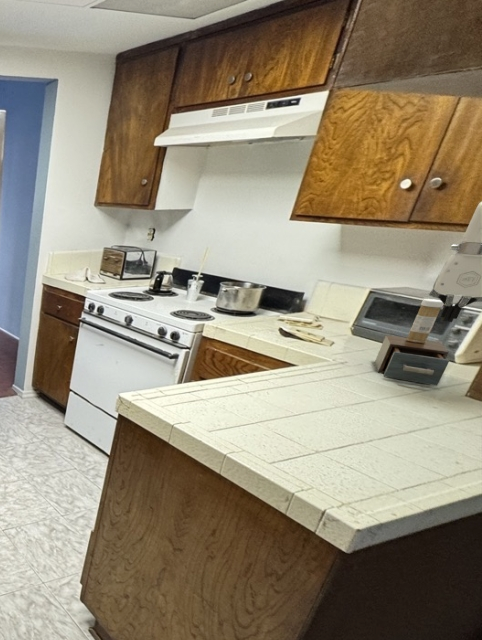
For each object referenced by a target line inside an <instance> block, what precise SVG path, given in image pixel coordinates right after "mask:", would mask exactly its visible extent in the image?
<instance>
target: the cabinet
mask: <svg viewBox="0 0 482 640" xmlns="http://www.w3.org/2000/svg"><path fill="white" fill-rule="evenodd" d="M406 339H407V337H403V336H398V335H397V336H395V335H389V334H386V335H385V337H384V339H383V342H382V344H381V346H380V349H379V351H378V352H377V355H376V358H375V359H374V364H375V367H376V370H377V372H378V373H380V374H385V368H384V366H385V363H386V361H387V359H388V357H389V354H390V352H391V350H392V347H399V348H406V349H413V350H420V351H427V352H434V353H440V354H441V356H442V357H443V358H444V359H447V357H448V354H449V351H448V349H447V348H446V347H445V346H444V345H443V343H442V342H441V341H434V340H428V339H427V340H426V343H414V342H410V341H407V340H406Z"/></svg>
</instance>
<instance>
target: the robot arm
mask: <svg viewBox="0 0 482 640" xmlns="http://www.w3.org/2000/svg"><path fill="white" fill-rule="evenodd" d="M465 230H466V231H465V232H464V234H463V236H462V239H461V241H459V243H456V244H451V245H450V247H449V250H450V251H454V252H455V254H451V255H450V256H449V258H448V259H446V261H445V263H444V265H443V267H441V270H440V271H439V274H438V275H437V277H436V279H435V281H434V283H433V286H432V288H431V290H430V291H429V292H428V296H429V297H432V298H434V299H437V300H441V301H442V302H443V303H444V304H443V306H442V308H441V310H440V311H441V312H440V314H439V318H440V320H441V321H442V322H448V323H452V322H453V321H454V320H457V319H458V317H459V315H460V313H461V311H462V309H463V308H464V307H466V306H468V305H470V304H473V303H482V200H481V201H480V202H478V205H477V206H476V208H475V210H474V213H473V215H472V217H471V219H470V221H469V224H468V226H467V228H466V229H465ZM455 296H461V297H460V298H459V299H458V301H457V302H456V303H454V304H453V302H454V298H455Z"/></svg>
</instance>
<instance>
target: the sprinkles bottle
mask: <svg viewBox="0 0 482 640" xmlns="http://www.w3.org/2000/svg"><path fill="white" fill-rule="evenodd" d="M443 307H444V303H443V302H442V301H441V300H440V299H436V298H434V299H433V298H424V299H423V300H422V301H421V303H420V308H419V310H418V312H417V314H416V316H415V318H414V321H413V323H412V326H411V328H410V330H409V332H408V335H407V336H406V338H407V339H406V340H407V341H410V342H414V343H426V340H427V341H428V338H429V335H430V333H431V331H432V330H433V327H434V324H435V322H436V320H437V318H438V315H439V313H440V311H441V310H442V308H443Z"/></svg>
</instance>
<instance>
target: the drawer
mask: <svg viewBox="0 0 482 640" xmlns="http://www.w3.org/2000/svg"><path fill="white" fill-rule="evenodd" d="M449 363H450V359H447V358H446V359H444V358H443V357H442V356H441V354H440V353H434V352H427V351H420V350H413V349H406V348H399V347H392V350H391V352H390V354H389V357H388V359H387V361H386V363H385V366H384V368H385V373H383V377H384V378H390V379H396V380H403V381H408V382H413V383H418V384H419V383H421V384H425V385H432V386H437V387H438V385H439V384H440V381H441V379H442V377H443V375H444V373H445V371H446V369H447V368H448V365H449Z"/></svg>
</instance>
